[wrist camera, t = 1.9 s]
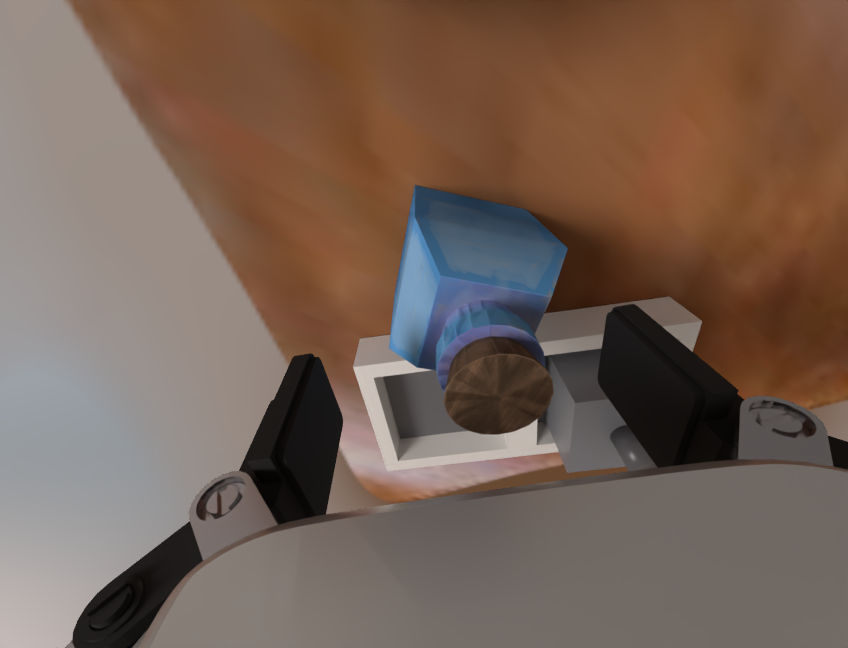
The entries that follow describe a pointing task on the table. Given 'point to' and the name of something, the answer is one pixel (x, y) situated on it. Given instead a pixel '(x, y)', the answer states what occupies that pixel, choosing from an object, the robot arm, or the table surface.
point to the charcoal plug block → (588, 418)
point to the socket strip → (424, 399)
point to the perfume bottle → (477, 307)
